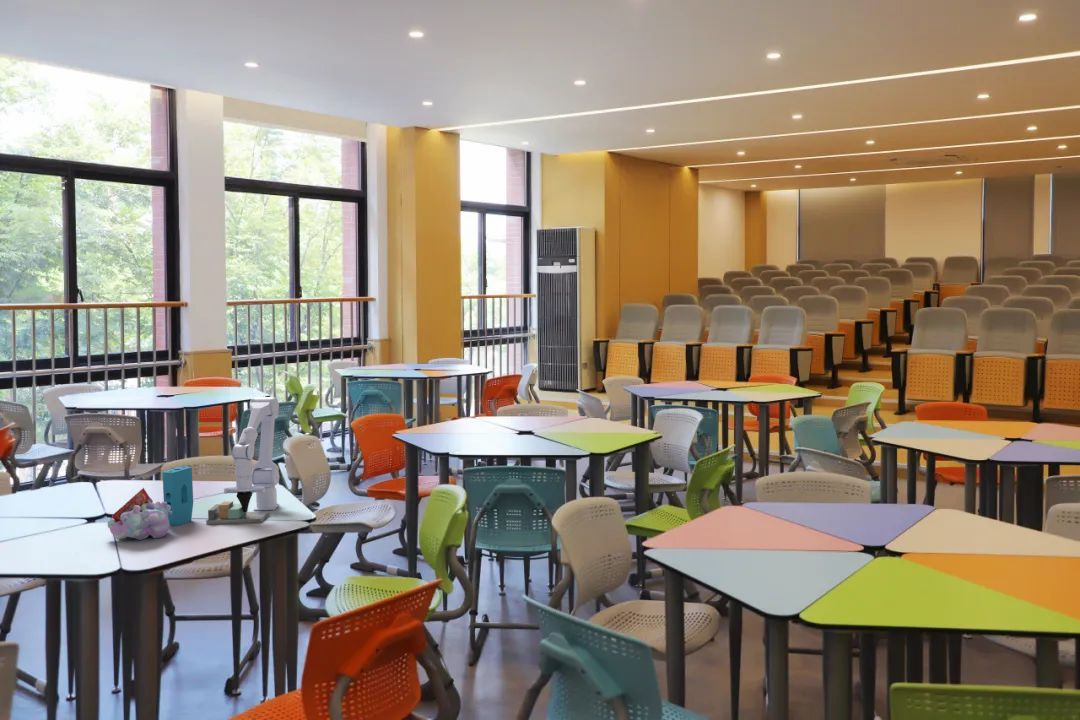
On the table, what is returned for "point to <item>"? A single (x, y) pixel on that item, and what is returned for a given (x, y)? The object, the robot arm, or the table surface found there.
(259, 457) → the robot arm
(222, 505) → the walnut block
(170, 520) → the block
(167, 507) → the lumpy lavender blob
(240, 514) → the block
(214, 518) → the vise
